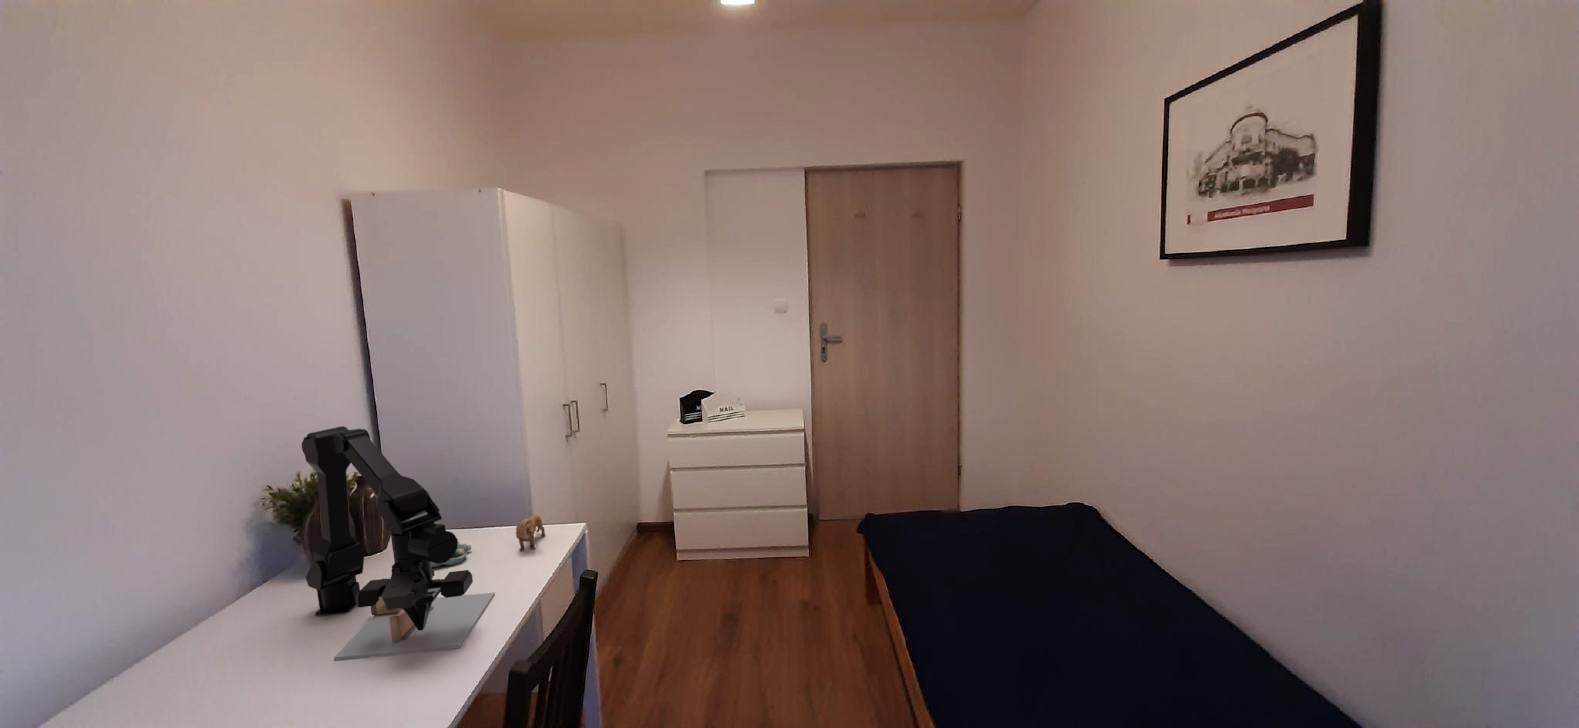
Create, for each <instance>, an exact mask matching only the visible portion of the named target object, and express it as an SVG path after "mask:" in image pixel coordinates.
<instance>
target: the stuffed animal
mask: <svg viewBox="0 0 1579 728" xmlns="http://www.w3.org/2000/svg"><path fill="white" fill-rule="evenodd" d="M471 550H472V545H471V544H467V543H460V542H459V541H458V547H457V550H456V552H455V554H454V555H453V557H452V558H451V559H449V560H448V561H447V562H444V563H434V562H430V564H431V568H438V567H440V566H443V565H447V566H448V565H449V566H455V565H457V564H459V563H462V562H463V561H464V560H465V559H466V557H467V552H468V551H471ZM456 555H459V556H456ZM454 556H456V557H454Z"/></svg>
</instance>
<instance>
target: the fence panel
mask: <svg viewBox="0 0 1579 728" xmlns="http://www.w3.org/2000/svg"><path fill="white" fill-rule="evenodd" d="M389 620H390V628H391V635H392V641H393V642H397V641H399V640H401V639H402V637H403V636H404V635H405V634H406V633H407V632H408V630H409V629H410V628H411V627H412V626H413V625H414V623H413V622H412V620H411V619H410V617H409V616H408V614H407V613H406V612H405V611H404V610H403V609H402V610H401V611H400V612H399V613H398V614H397V615H395V616H392V617H390V618H389Z"/></svg>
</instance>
